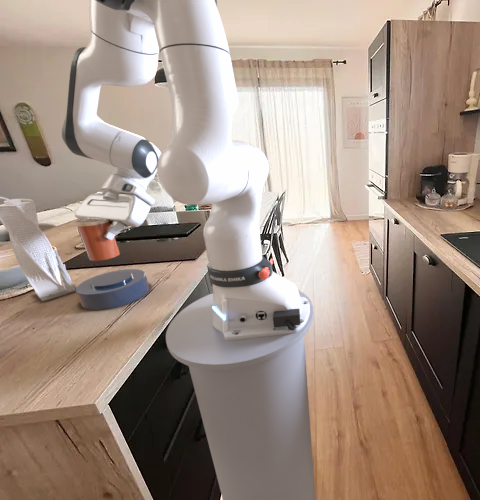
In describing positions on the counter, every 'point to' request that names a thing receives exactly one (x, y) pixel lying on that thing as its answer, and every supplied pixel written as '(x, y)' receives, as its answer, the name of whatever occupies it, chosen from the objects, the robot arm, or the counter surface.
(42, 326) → the counter surface
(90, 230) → the terracotta cup
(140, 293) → the blue round puck
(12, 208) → the skyscraper
